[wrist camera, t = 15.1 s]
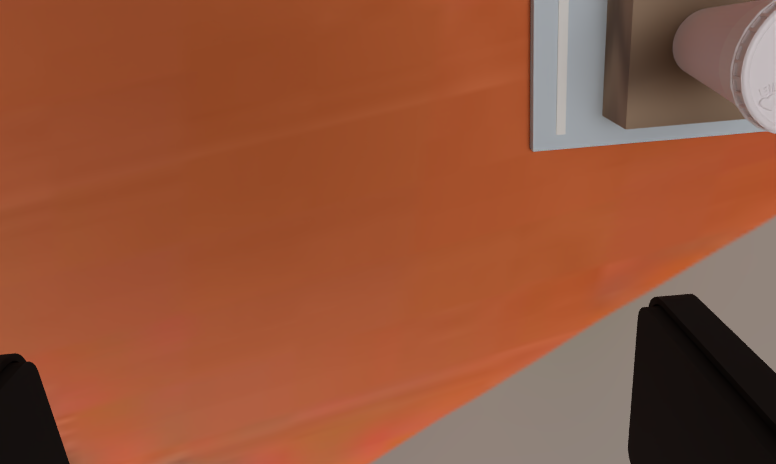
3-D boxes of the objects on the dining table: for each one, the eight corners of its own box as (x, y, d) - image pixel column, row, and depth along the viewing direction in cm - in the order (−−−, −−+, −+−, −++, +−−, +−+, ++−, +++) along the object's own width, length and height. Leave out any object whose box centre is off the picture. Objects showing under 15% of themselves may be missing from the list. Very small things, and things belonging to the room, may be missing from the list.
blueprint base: (530, -64, 38) (553, -69, 34) (830, -90, 38) (892, -99, 34) (529, 148, 43) (549, 168, 39) (796, 125, 43) (846, 142, 39)
